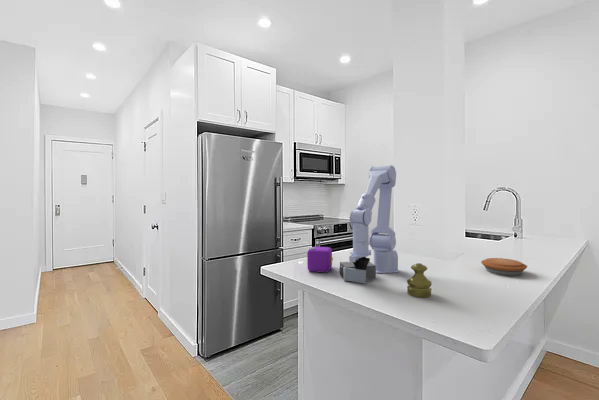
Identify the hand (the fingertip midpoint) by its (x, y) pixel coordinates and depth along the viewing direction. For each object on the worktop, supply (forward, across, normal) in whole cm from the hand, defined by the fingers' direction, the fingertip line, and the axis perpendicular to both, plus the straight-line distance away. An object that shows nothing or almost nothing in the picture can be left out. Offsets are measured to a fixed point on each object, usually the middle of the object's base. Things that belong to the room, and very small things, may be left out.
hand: (360, 277), depth 112 cm
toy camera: (+2, -6, -22) cm, 23 cm away
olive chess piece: (+2, +2, +22) cm, 22 cm away
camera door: (+1, +3, -1) cm, 3 cm away
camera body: (+1, -5, -4) cm, 7 cm away
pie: (+2, -44, +42) cm, 61 cm away
